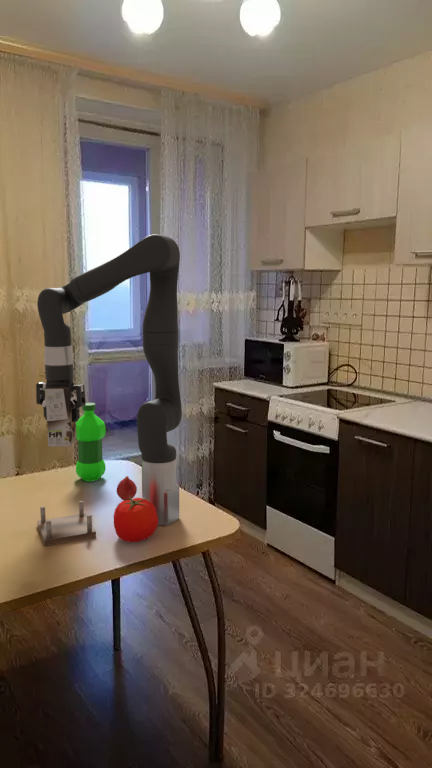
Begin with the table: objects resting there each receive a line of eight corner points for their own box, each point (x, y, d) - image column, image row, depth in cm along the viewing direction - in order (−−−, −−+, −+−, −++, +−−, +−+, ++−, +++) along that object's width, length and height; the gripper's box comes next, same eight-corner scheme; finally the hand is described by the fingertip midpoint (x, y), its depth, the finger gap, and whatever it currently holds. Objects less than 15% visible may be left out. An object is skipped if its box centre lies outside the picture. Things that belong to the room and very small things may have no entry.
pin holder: (96, 537, 145) (95, 516, 144) (44, 546, 140) (43, 524, 139) (85, 518, 157) (85, 499, 156) (37, 526, 152) (36, 506, 151)
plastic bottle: (75, 485, 182) (72, 408, 178) (75, 474, 192) (72, 401, 188) (107, 483, 184) (105, 406, 180) (105, 472, 194) (104, 400, 190)
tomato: (129, 525, 153) (129, 488, 151) (167, 533, 148) (166, 495, 146) (102, 543, 142) (101, 504, 140) (141, 553, 137) (141, 512, 136)
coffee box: (71, 446, 156) (68, 388, 153) (47, 447, 155) (44, 388, 152) (77, 437, 165) (74, 382, 162) (54, 438, 164) (51, 382, 161)
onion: (113, 503, 167) (112, 477, 166) (123, 497, 173) (123, 471, 171) (130, 506, 165) (130, 480, 164) (140, 500, 170) (140, 474, 169)
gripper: (89, 361, 157) (91, 419, 160) (44, 359, 162) (47, 416, 165) (74, 365, 150) (77, 425, 153) (28, 363, 155) (31, 421, 158)
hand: (61, 420), depth 159 cm, fingers closed on coffee box, 8 cm apart
